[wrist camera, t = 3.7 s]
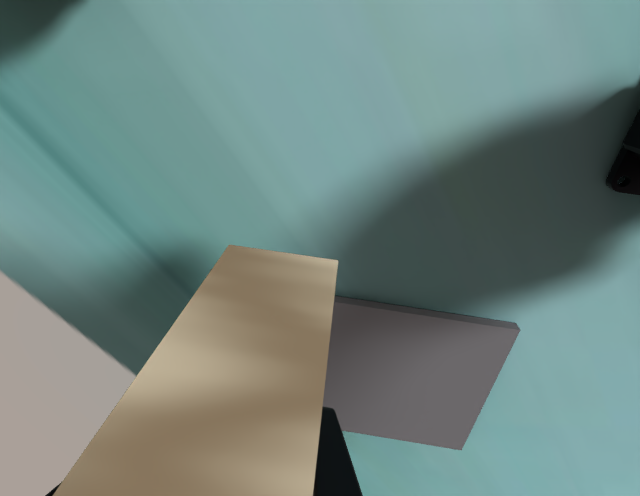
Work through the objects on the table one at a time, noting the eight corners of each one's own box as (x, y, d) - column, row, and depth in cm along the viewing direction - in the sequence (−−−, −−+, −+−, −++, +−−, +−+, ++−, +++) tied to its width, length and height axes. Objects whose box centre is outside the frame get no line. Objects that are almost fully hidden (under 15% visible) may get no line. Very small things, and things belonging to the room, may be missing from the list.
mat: (516, 323, 20) (520, 330, 20) (459, 442, 26) (461, 450, 25) (240, 281, 21) (237, 287, 20) (239, 405, 26) (237, 413, 26)
